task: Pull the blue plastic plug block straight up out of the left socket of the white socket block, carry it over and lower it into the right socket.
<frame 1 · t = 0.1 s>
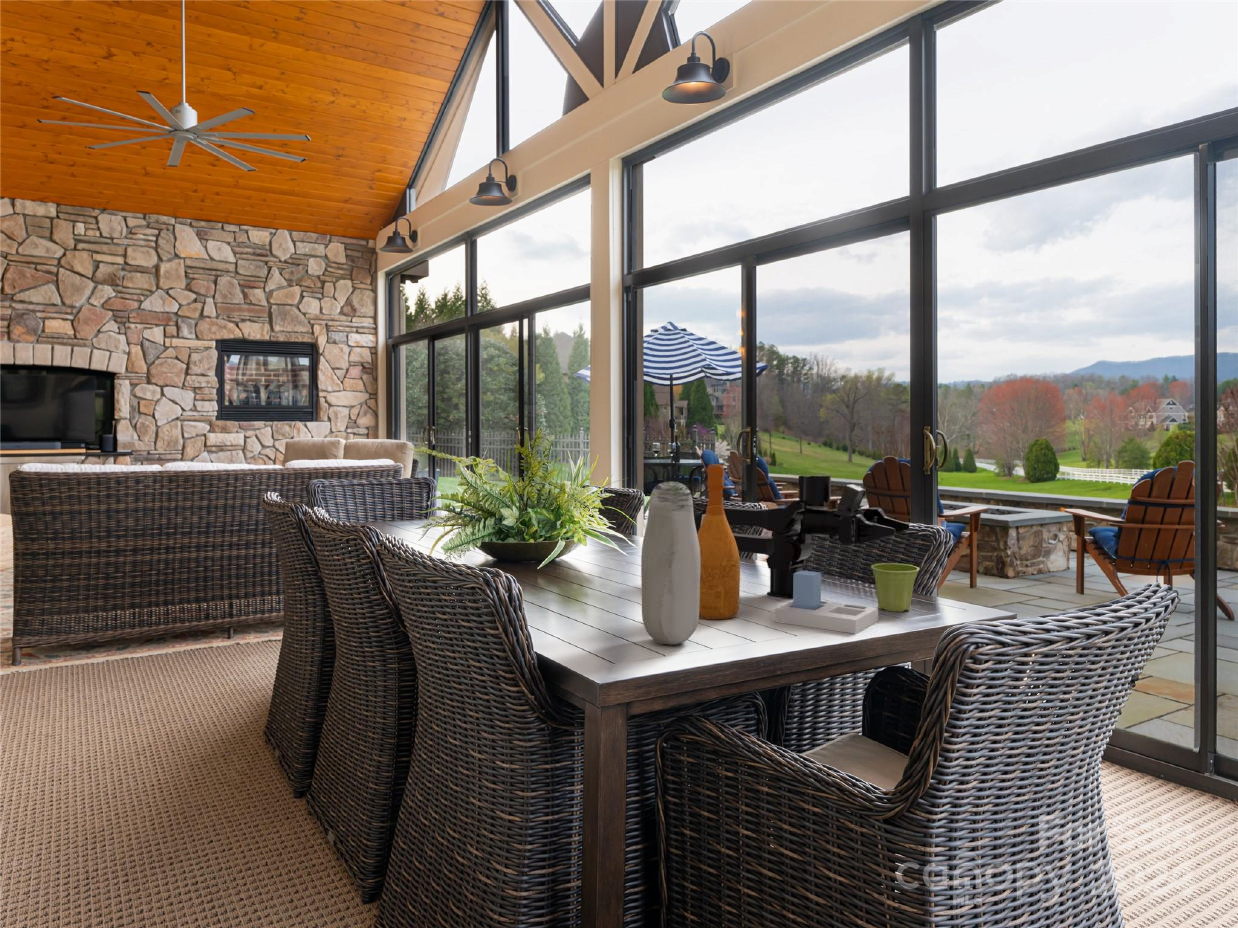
hand: (902, 529, 175), 17 cm above the table, tool horizontal, fingers open, 9 cm apart
white socket block: (826, 621, 166), on the table
wine bottle: (714, 616, 171), on the table
plug: (806, 618, 168), resting in white socket block
plant pot: (894, 609, 177), on the table
grey vase: (670, 643, 150), on the table
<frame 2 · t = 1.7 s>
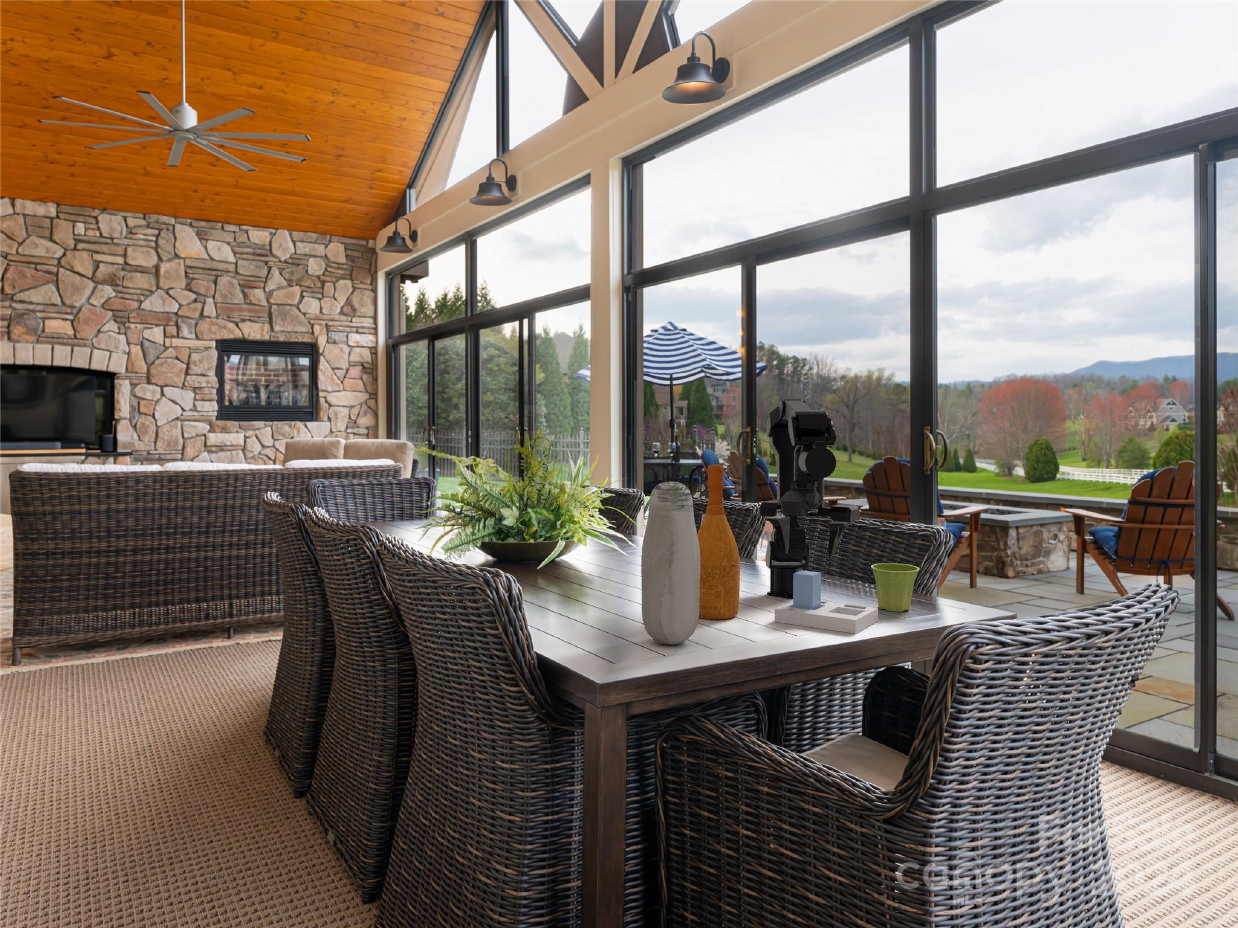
hand: (807, 555, 167), 12 cm above the table, tool pointing down, fingers open, 9 cm apart
nothing on the table moved.
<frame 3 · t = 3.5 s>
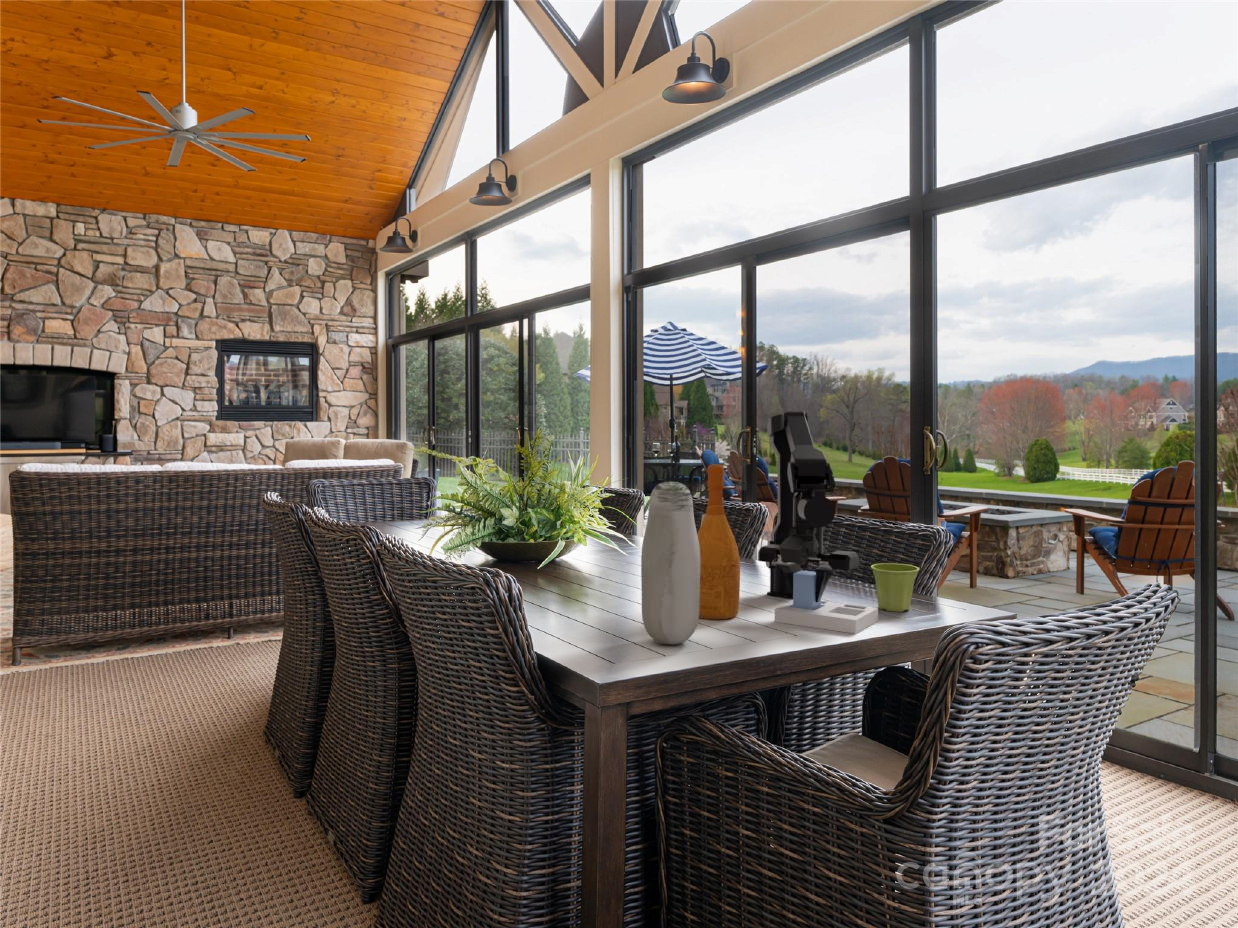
hand: (806, 600, 168), 4 cm above the table, tool pointing down, fingers closed on plug, 4 cm apart
plug: (806, 618, 168), resting in white socket block, touching gripper
everything else where it was.
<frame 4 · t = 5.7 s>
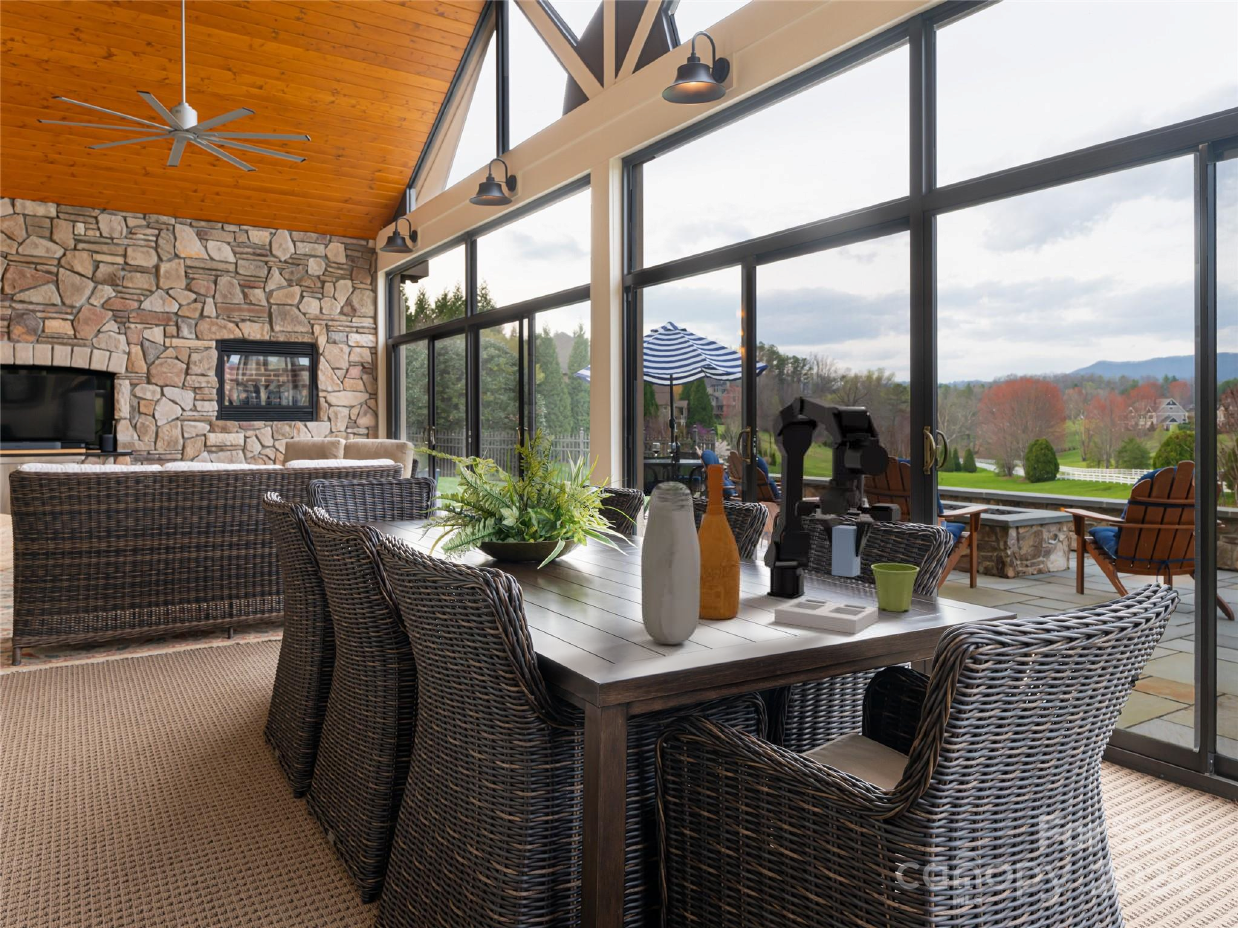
hand: (846, 555, 163), 13 cm above the table, tool pointing down, fingers closed on plug, 4 cm apart
plug: (845, 574, 163), point 10 cm above the table, touching gripper
everything else where it was.
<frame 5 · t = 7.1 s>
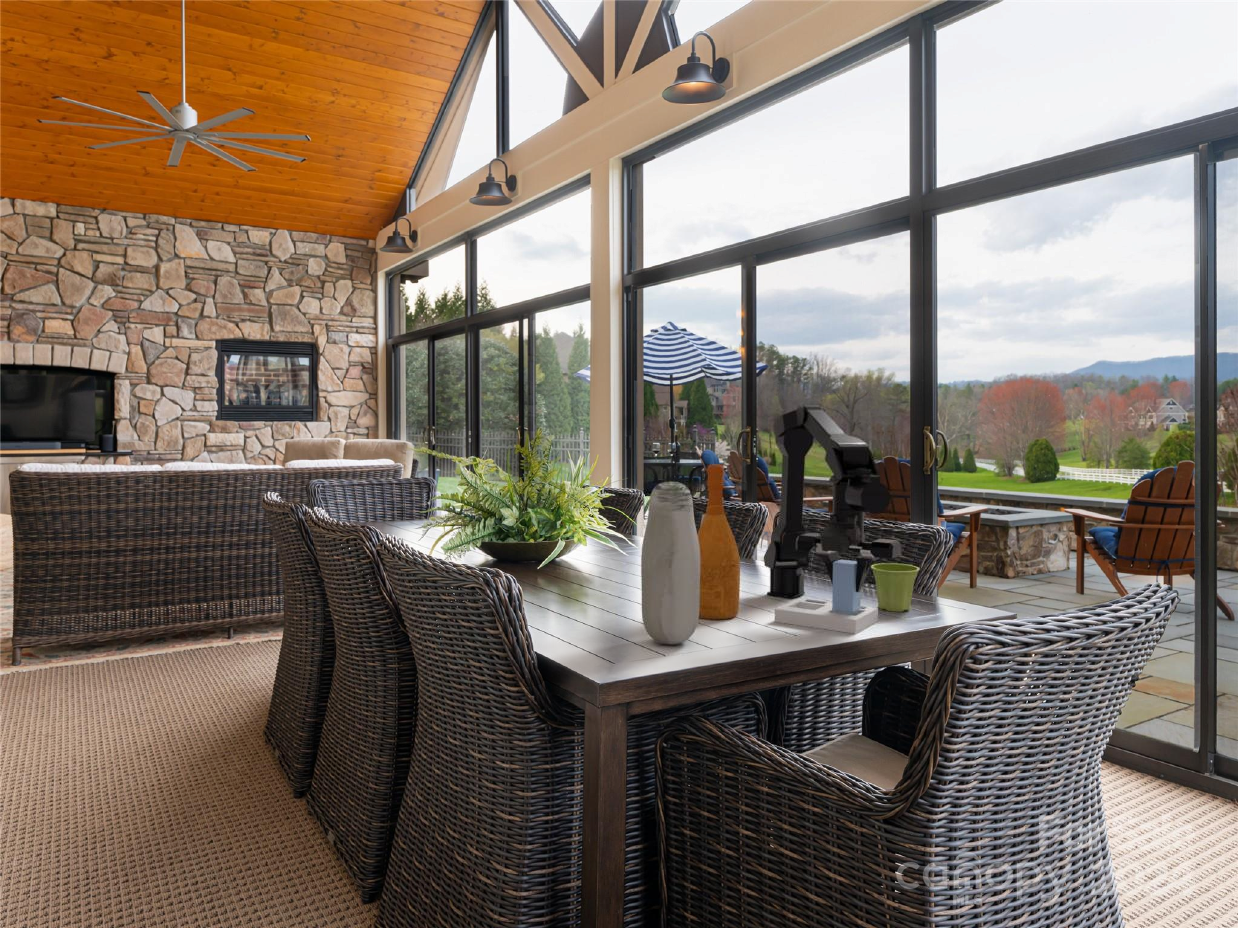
hand: (846, 590, 163), 6 cm above the table, tool pointing down, fingers closed on plug, 4 cm apart
plug: (846, 609, 163), point 3 cm above the table, touching gripper
everything else where it was.
when the fingers open (5 cm above the table, at t = 8.2 s): plug drops 1 cm, resting in white socket block.
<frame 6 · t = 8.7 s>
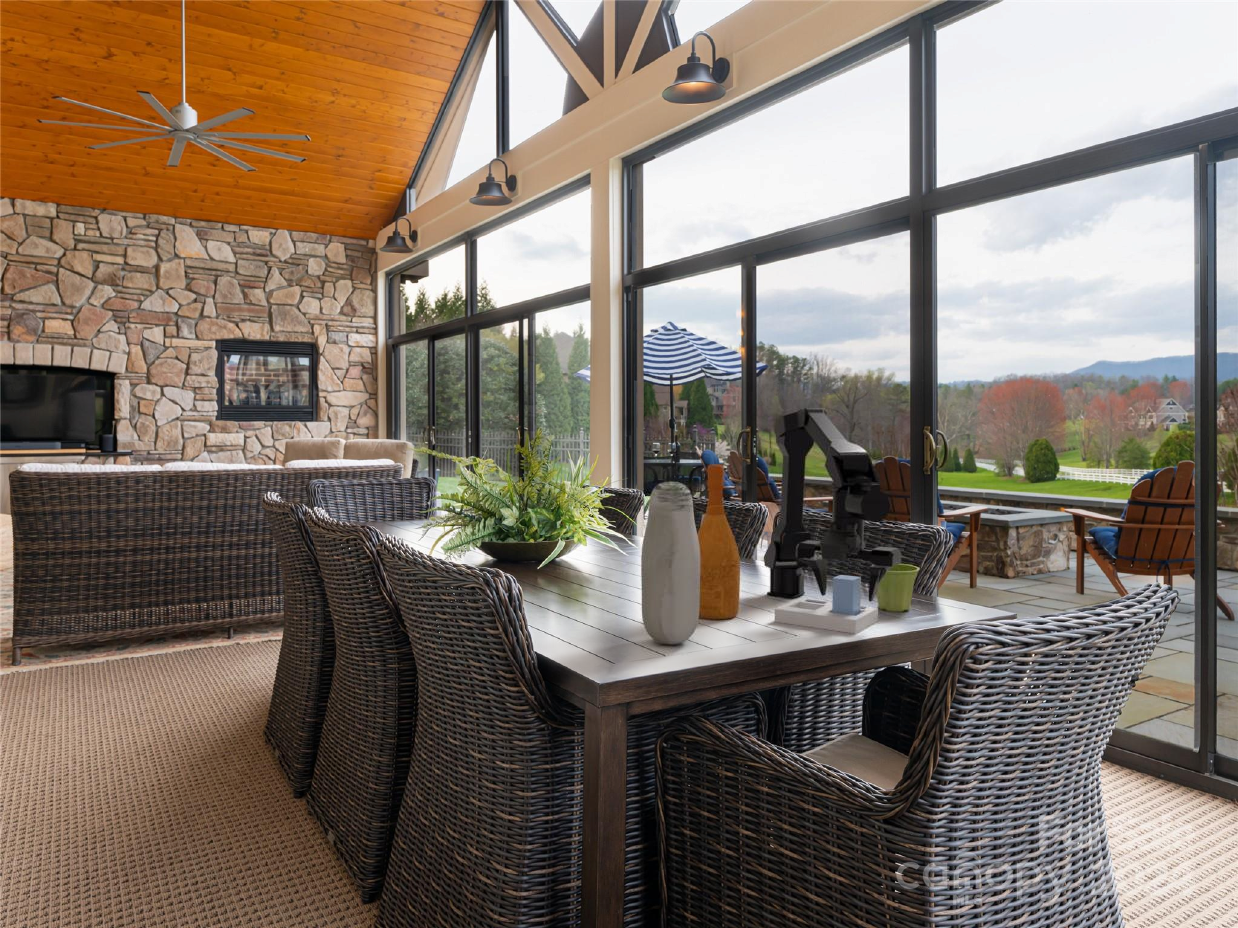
hand: (846, 598, 163), 5 cm above the table, tool pointing down, fingers open, 9 cm apart
plug: (846, 624, 163), resting in white socket block
everything else where it was.
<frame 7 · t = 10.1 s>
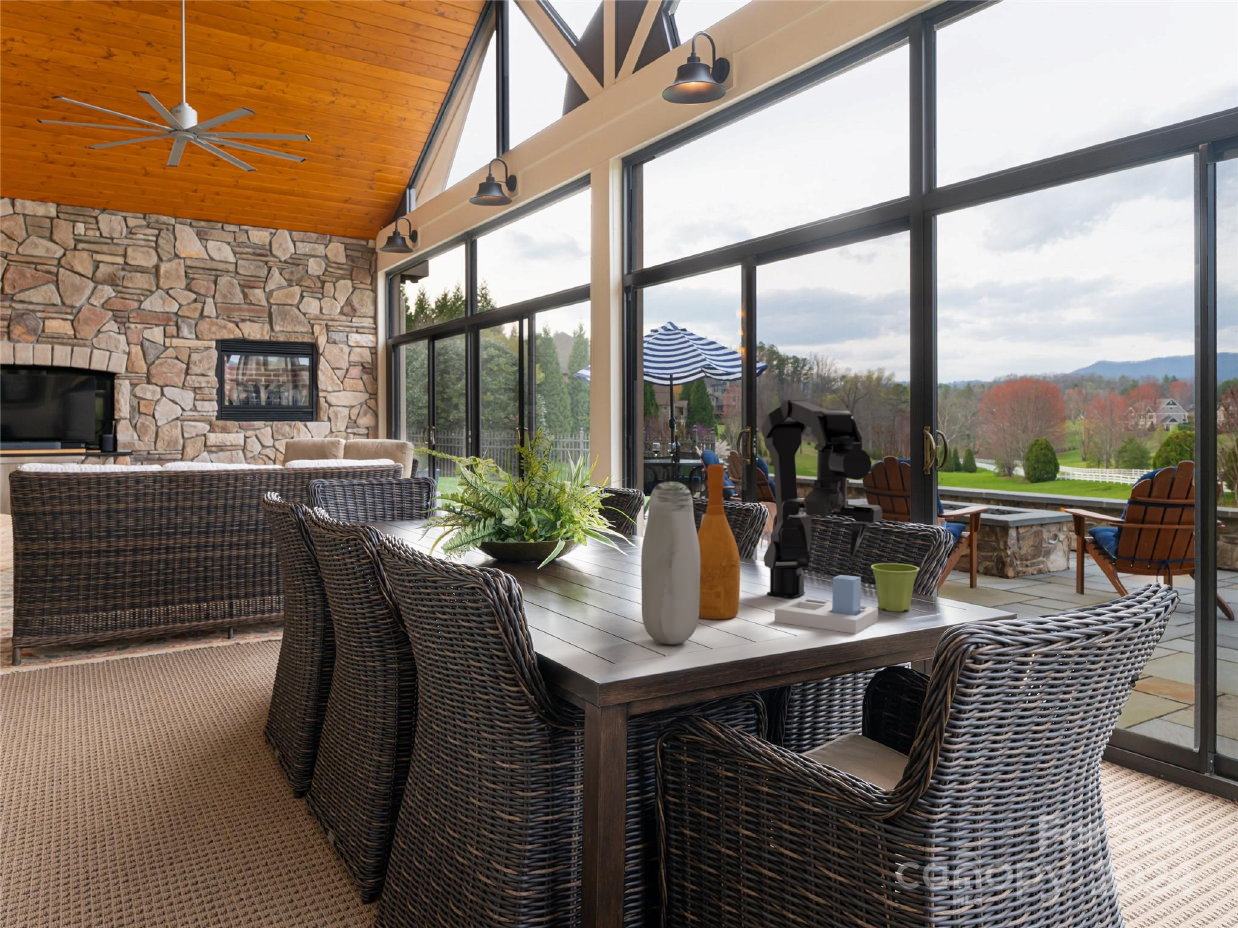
hand: (829, 553, 170), 12 cm above the table, tool pointing down, fingers open, 9 cm apart
nothing on the table moved.
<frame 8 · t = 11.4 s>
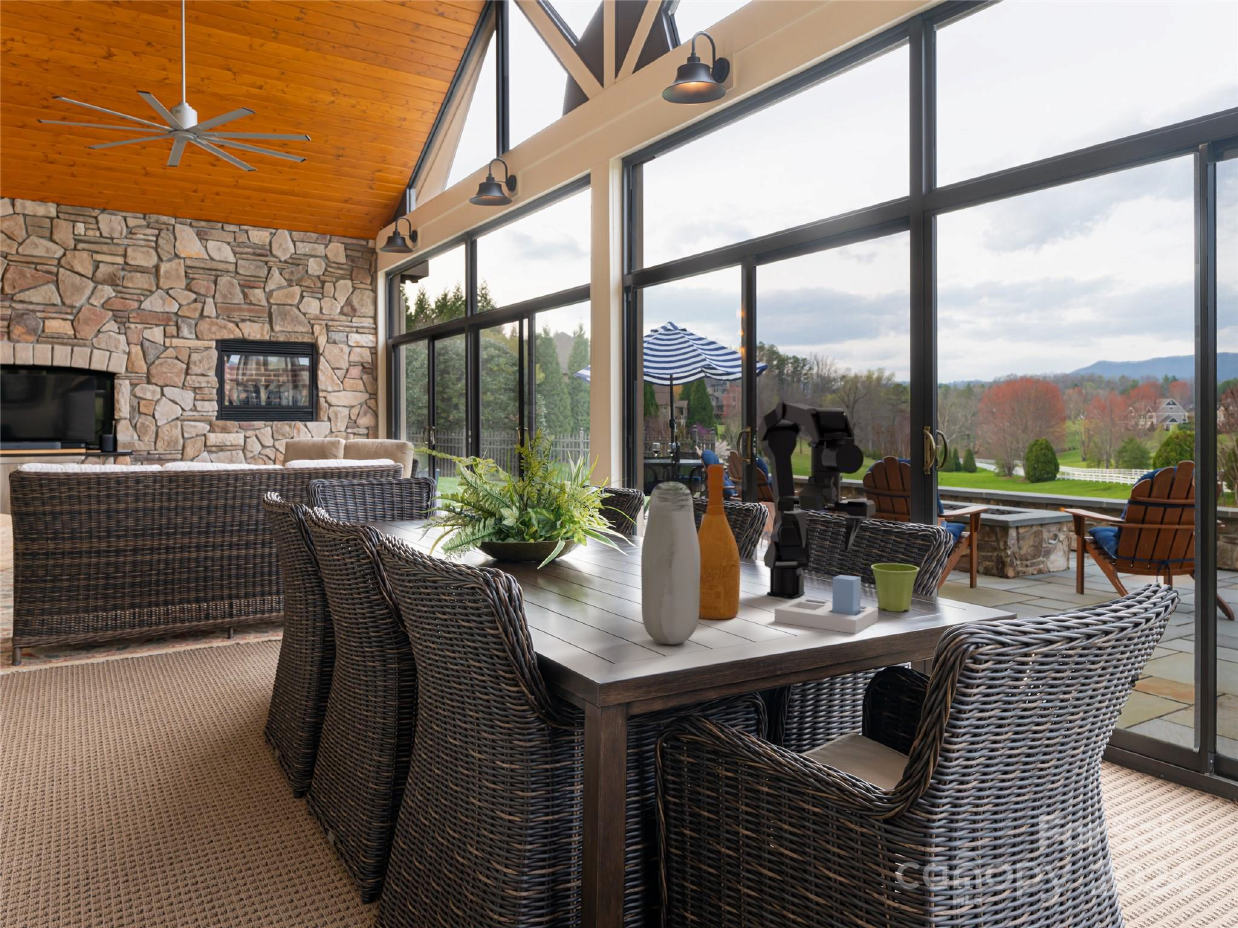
hand: (824, 549, 172), 13 cm above the table, tool pointing down, fingers open, 9 cm apart
nothing on the table moved.
at the end: plug 0.0 cm from the target spot on the white socket block, point 0.0 cm above the white socket block's base; plug tilted 0°; the gripper is holding nothing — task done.
